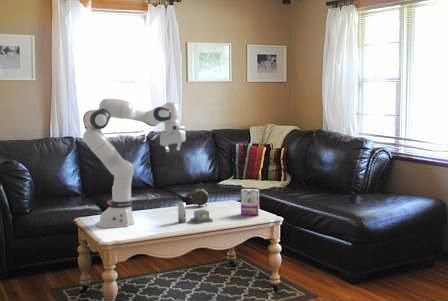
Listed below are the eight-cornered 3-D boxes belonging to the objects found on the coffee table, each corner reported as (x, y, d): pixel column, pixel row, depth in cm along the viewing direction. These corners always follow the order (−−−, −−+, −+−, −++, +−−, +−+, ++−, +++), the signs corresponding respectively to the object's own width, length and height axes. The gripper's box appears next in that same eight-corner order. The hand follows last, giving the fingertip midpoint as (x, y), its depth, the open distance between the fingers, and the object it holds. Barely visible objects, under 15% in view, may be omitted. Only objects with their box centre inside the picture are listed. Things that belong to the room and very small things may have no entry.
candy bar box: (259, 214, 354) (259, 189, 352) (258, 216, 349) (258, 190, 347) (242, 213, 356) (242, 188, 355) (240, 215, 352) (240, 189, 350)
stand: (196, 223, 331) (196, 213, 330) (190, 220, 339) (190, 210, 339) (212, 221, 336) (212, 211, 335) (206, 218, 344) (206, 208, 343)
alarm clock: (208, 205, 380) (208, 182, 378) (207, 207, 375) (207, 183, 373) (193, 205, 381) (192, 182, 379) (191, 207, 376) (191, 183, 374)
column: (179, 223, 331) (179, 204, 330) (177, 221, 335) (176, 202, 334) (187, 222, 333) (186, 203, 332) (184, 221, 337) (183, 201, 336)
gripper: (157, 130, 347) (157, 152, 345) (179, 125, 333) (180, 148, 331) (164, 131, 351) (165, 153, 349) (187, 126, 338) (187, 149, 336)
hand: (172, 150), depth 340 cm, fingers open, 8 cm apart
